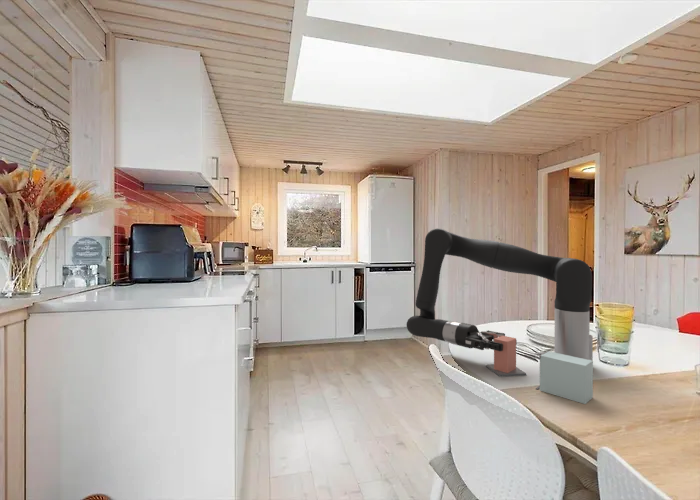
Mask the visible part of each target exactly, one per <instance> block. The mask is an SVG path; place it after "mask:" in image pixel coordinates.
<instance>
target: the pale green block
mask: <svg viewBox="0 0 700 500" xmlns="http://www.w3.org/2000/svg"><path fill="white" fill-rule="evenodd" d="M538 358H539V385H538V386H537V387H536V388H535V390H538V391H541V392H543V393H547V394H550V395H554V396H557V397H561V398H564V399H568V400H570V401H573V402H577V403H580V404H584V405H587V404H588V403H589V402H590V400H592V399H593V398H594V390H593V389H594V388H593V387H594V385H593V384H594V380H593V379H594V375H593V374H594V361H592V360H587V359H583V358H578V357H573V356H569V355H564V354H559V353H555V352H554V351H550V350H547V351H545V352H543V353H541V354H539V357H538Z"/></svg>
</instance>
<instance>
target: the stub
mask: <svg viewBox="0 0 700 500" xmlns="http://www.w3.org/2000/svg"><path fill="white" fill-rule="evenodd" d="M516 340H517V338H516V337H510V336H507V335H505V336H500V337H498V338H495V339H494V342H498V343H502V344H503V351H497V350H493V364H494V369H495V370H499V371H502V372H506V373H508V372H510V371H512V370H514V369H516V367H517V344H516Z"/></svg>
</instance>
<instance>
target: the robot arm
mask: <svg viewBox="0 0 700 500" xmlns="http://www.w3.org/2000/svg"><path fill="white" fill-rule="evenodd" d="M445 256H453V257H459V258H463V259H466V260H469V261H471V262H473V263H476V264H478V265H482V266H484V267H488V268H490V269H494V270H495V269H496V270H498V271H499V270H500V271H503V272H508V273H514V274H522V275H523V274H524V275H530V276H531V275H532V276H536V277H540V278H543V279H547V280H549V281H553V282H554V283H556V285H555V298H554V346H553V349H554V351H553V352H555V353H559V354H564V355H569V356H573V357H578V358H583V359H587V360H592V361H593V357H594V356H593V348H594V347H593V346H594V345H593V343H594V342H593V335H592V334H590V321H591V320H590V309H591V306H590V305H591V303H592V297H593V295H592V290H593V289H592V288H593V273H592V269H591V268H590V265H588V263H586V262H585V261H584V260H582V259H578V258H571V257H559V256H553V255H547V254H546V255H545V254H542V253H538V252H534V251H533V250H530V249H526V248H523V247H520V246H517V245H515V244H510V243H505V242H501V241H500V242H499V241H495V240H489V239H483V238H482V239H480V238H478V239H477V238H470V237H465V236H461V235H458V234H455V233H453V232H450V231H448V230H445V229H444V228H433V229H431V230H430V231H429V232H428V233H427V234H426V236H425V239H424V258H423V267H422V271H421V275H420V282H419V285H418V289H417V294H416V298H415V307H416V308H417V309H418V310H419V311H420V313H419V315H413V316H411V317H409V318H408V319H407V322H406V329H407V331H408V332H409V333H410V334H411V335H412V336H415V337H421V338H426V339H427V338H428V339H429V338H430V339H435V340H438V341H442V342H445V343H449V344H452V345H455V346H459V347H463V348H466V349H477V350H480V351H484V350H493V351H494V350H497V351H503V344H502V343H498V342H494V339H495V338H498V337H500V336H506V333H503V332H500V331H499V332H497V331H492V330H486V331H485V330H482V331H479V328H478V327H477V325H475V324H470V323H465V322H460V321H451V320H446V319H445V320H444V319H439V318H438V319H436V311H435V309H436V307H435V306H436V302H437V298H438V294H439V287H440V278H441V277H440V276H441V270H442V265H443V262H444V259H445ZM517 341H518V340H517V339H516V345H517ZM593 362H594V361H593Z"/></svg>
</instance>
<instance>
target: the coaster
mask: <svg viewBox="0 0 700 500" xmlns="http://www.w3.org/2000/svg"><path fill="white" fill-rule="evenodd" d="M485 367H486V368H488V369H489V370H490V371H491V372H492V373H494V374H496V375H497V376H498V377H514V376H515V377H516V376H517V377H519V376H523V377H524V376H527V372H525V371H523V370H522V369H520V368H518V367H517V366H516V369H514V370H512V371H510V372H508V373H506V372H502V371H499V370H495V369H494V363H493V364H485Z"/></svg>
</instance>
